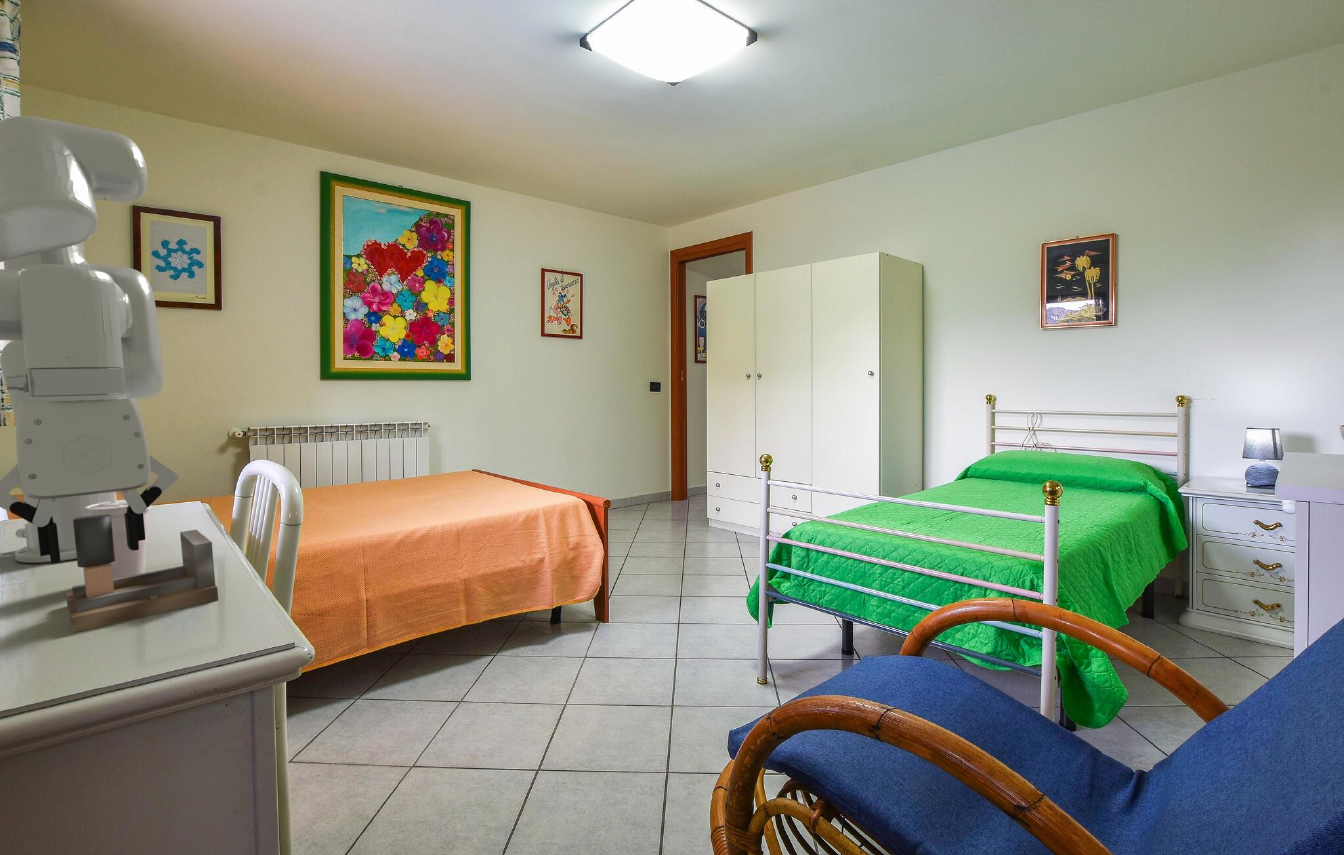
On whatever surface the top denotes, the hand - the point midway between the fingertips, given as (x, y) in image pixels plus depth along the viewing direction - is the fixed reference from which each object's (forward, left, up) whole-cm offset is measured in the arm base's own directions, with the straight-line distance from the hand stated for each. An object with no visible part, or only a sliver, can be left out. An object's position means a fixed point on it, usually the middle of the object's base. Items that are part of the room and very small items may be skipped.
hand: (95, 552), depth 68 cm
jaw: (0, 0, -5) cm, 5 cm away
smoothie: (-9, +10, -7) cm, 15 cm away
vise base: (+2, +3, -7) cm, 7 cm away
